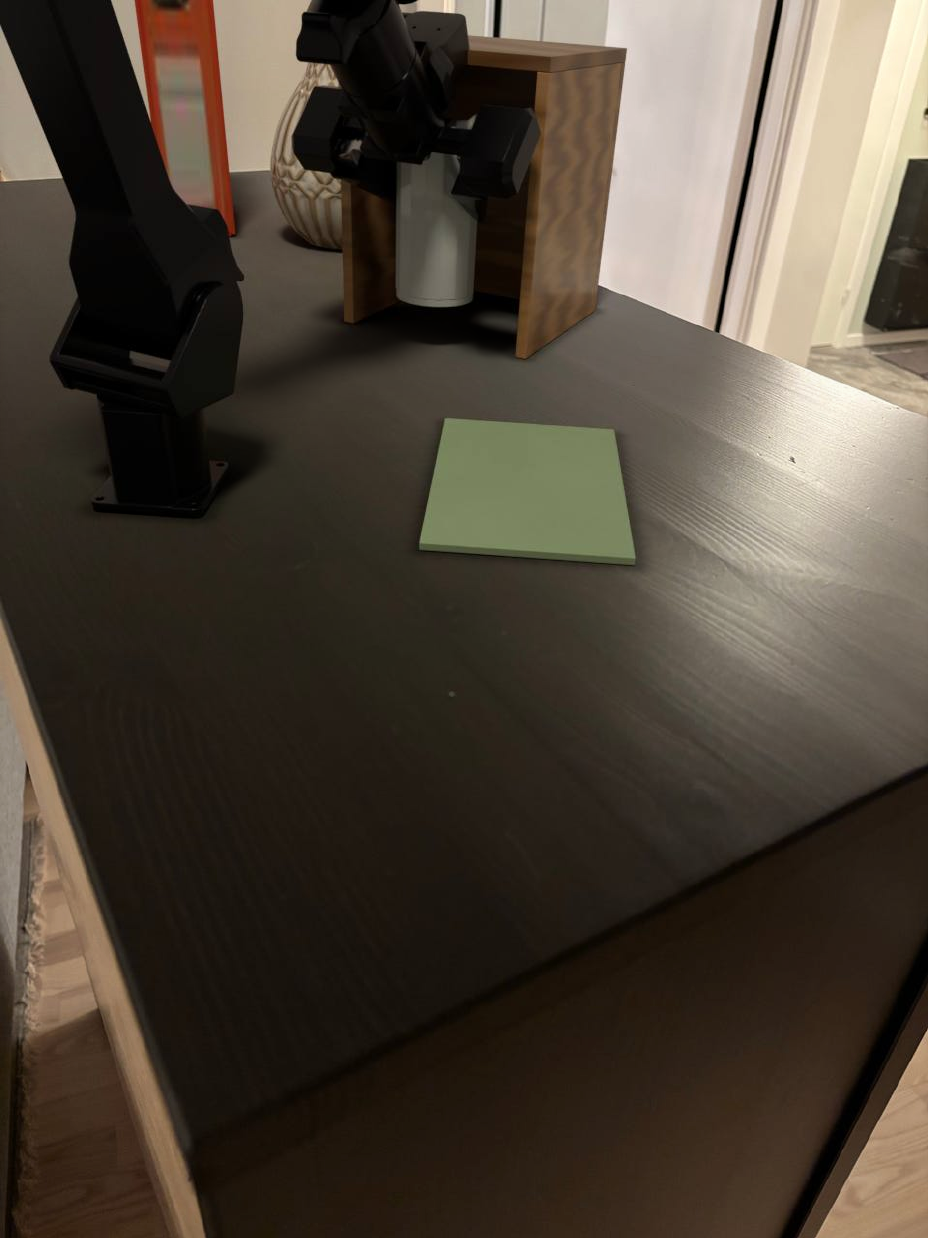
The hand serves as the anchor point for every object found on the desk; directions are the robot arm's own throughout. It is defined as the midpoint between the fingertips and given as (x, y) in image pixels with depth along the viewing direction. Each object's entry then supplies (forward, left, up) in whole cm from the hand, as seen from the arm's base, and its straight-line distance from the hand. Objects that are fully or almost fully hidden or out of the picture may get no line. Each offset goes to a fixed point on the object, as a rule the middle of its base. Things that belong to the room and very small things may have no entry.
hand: (445, 211), depth 79 cm
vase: (+32, +14, -10) cm, 36 cm away
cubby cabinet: (+6, -2, -10) cm, 12 cm away
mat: (-29, -8, -10) cm, 32 cm away
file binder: (+38, +33, -10) cm, 51 cm away
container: (-1, +1, -7) cm, 7 cm away
